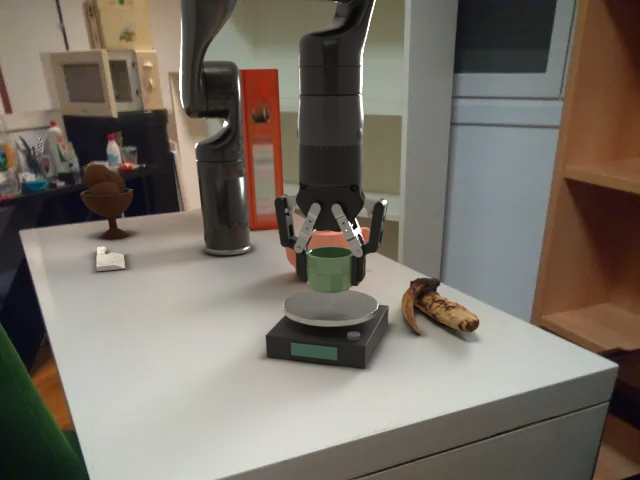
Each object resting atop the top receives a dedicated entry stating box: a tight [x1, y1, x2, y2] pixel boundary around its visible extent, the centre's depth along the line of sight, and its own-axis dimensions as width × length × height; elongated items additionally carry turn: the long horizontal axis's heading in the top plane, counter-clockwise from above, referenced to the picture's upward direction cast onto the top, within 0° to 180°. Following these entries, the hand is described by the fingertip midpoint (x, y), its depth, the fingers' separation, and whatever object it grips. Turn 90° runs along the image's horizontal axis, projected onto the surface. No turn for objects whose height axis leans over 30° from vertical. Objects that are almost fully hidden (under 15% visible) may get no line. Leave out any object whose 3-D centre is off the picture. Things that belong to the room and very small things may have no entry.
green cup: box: [305, 246, 354, 293], centre depth 76 cm, size 6×6×4 cm
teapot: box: [275, 226, 371, 271], centre depth 104 cm, size 12×18×10 cm
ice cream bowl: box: [79, 163, 134, 240], centre depth 129 cm, size 11×11×15 cm
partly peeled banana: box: [401, 277, 480, 336], centre depth 86 cm, size 9×5×18 cm
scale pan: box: [282, 289, 379, 327], centre depth 78 cm, size 13×13×1 cm
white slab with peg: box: [95, 245, 126, 272], centre depth 116 cm, size 5×15×1 cm, turn 17°
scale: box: [265, 304, 390, 369], centre depth 80 cm, size 15×13×4 cm
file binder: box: [238, 68, 285, 231], centre depth 137 cm, size 8×17×32 cm, turn 17°
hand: (330, 281), depth 77 cm, fingers closed on green cup, 6 cm apart
